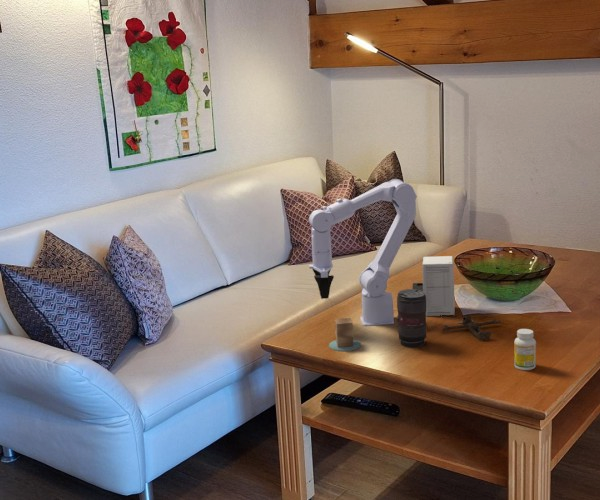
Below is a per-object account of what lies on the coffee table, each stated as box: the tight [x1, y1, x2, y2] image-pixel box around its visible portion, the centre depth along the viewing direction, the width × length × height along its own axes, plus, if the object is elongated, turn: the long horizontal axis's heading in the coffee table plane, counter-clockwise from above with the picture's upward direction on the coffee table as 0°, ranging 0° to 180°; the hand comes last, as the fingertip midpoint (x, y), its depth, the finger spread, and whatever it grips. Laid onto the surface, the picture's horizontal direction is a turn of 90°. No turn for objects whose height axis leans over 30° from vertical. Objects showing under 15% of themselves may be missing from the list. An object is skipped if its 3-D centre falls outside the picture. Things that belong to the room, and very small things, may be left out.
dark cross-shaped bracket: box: [441, 314, 501, 342], centre depth 238 cm, size 18×4×14 cm
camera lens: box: [396, 288, 427, 348], centre depth 231 cm, size 8×8×15 cm
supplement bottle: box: [513, 328, 537, 371], centre depth 211 cm, size 5×5×10 cm
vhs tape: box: [411, 282, 423, 291], centre depth 277 cm, size 14×8×2 cm, turn 171°
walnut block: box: [334, 317, 354, 348], centre depth 233 cm, size 4×4×7 cm
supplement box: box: [421, 255, 456, 317], centre depth 256 cm, size 10×9×17 cm
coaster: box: [328, 338, 362, 352], centre depth 234 cm, size 9×9×1 cm
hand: (323, 294), depth 248 cm, fingers open, 7 cm apart
